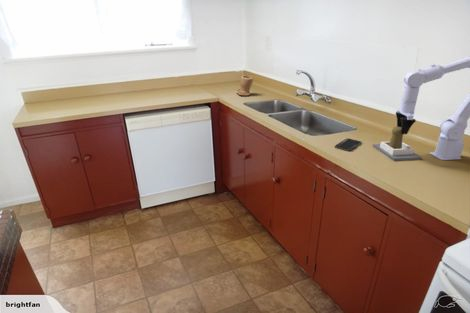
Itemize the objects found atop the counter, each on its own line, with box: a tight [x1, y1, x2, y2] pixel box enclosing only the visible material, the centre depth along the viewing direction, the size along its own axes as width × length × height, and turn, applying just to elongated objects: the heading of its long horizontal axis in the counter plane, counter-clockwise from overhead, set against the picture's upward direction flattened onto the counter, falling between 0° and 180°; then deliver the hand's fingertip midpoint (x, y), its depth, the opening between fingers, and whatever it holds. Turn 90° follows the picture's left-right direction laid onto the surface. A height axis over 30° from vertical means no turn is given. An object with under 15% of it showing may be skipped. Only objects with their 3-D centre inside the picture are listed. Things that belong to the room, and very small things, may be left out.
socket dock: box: [372, 140, 422, 162], centre depth 142 cm, size 13×17×4 cm
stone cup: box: [235, 75, 254, 97], centre depth 249 cm, size 15×12×15 cm
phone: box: [334, 138, 363, 152], centre depth 150 cm, size 8×1×15 cm
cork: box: [388, 126, 405, 149], centre depth 140 cm, size 6×6×11 cm
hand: (401, 131), depth 138 cm, fingers open, 7 cm apart
